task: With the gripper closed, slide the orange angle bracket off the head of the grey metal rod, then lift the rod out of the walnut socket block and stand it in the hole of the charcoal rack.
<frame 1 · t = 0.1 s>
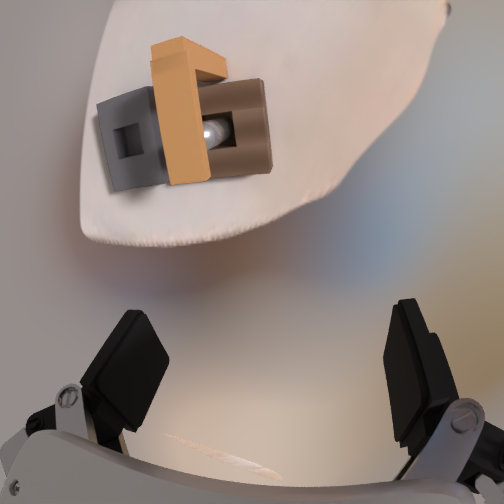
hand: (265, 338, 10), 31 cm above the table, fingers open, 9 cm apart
socket block: (224, 128, 35), on the table
orange angle bracket: (202, 107, 27), point 8 cm above the table, slide at 0.0 cm
grey metal rod: (222, 129, 34), point 1 cm above the table, touching socket block
bit rack: (141, 136, 37), on the table
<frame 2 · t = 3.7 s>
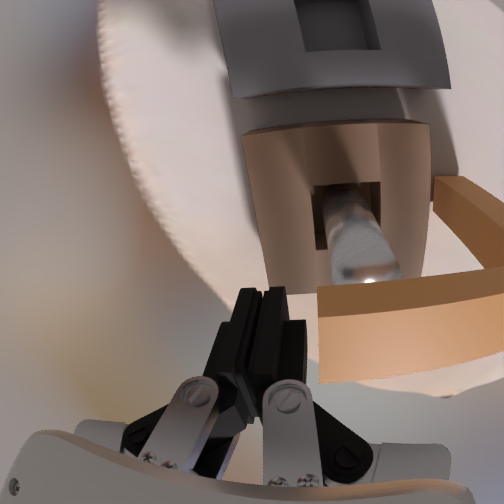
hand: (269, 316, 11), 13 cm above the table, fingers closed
socket block: (339, 197, 21), on the table
orange angle bracket: (429, 238, 13), point 8 cm above the table, slide at 1.2 cm, touching gripper
grey metal rod: (341, 201, 20), point 1 cm above the table, touching socket block
bit rack: (329, 32, 15), on the table
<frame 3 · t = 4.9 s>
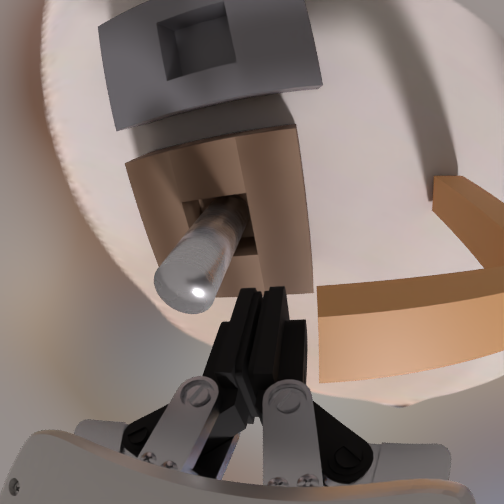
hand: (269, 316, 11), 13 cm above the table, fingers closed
socket block: (232, 207, 23), on the table
orange angle bracket: (428, 237, 13), point 8 cm above the table, slide at 9.8 cm, touching gripper
grey metal rod: (229, 212, 22), point 1 cm above the table, touching socket block
bit rack: (212, 49, 16), on the table
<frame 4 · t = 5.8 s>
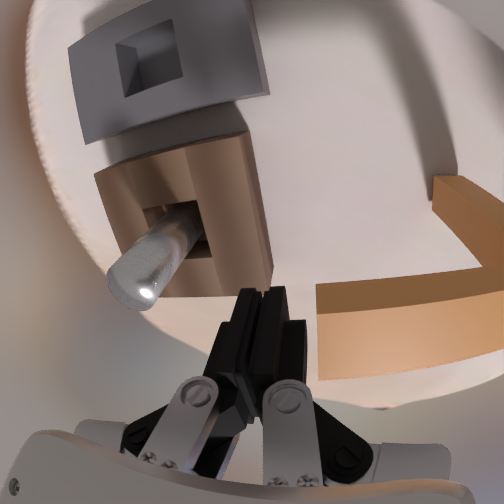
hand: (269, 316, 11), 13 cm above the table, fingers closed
socket block: (194, 212, 24), on the table
orange angle bracket: (428, 236, 13), point 8 cm above the table, slide at 13.3 cm, touching gripper
grey metal rod: (190, 217, 23), point 1 cm above the table, touching socket block
bit rack: (171, 63, 17), on the table
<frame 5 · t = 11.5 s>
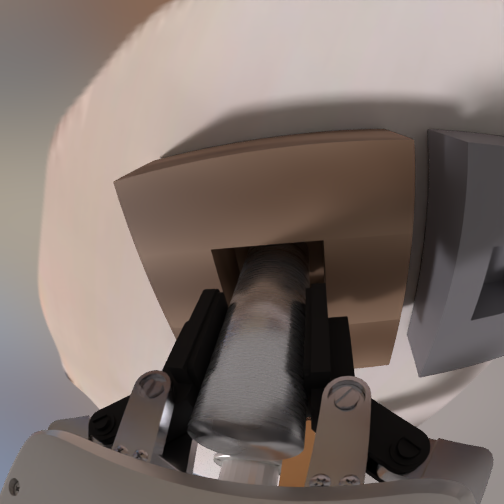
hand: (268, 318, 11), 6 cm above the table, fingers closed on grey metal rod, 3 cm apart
socket block: (280, 246, 16), on the table
orange angle bracket: (293, 474, 17), point 8 cm above the table, slide at 13.5 cm
grey metal rod: (278, 256, 15), point 1 cm above the table, touching gripper, socket block
bit rack: (480, 245, 13), on the table
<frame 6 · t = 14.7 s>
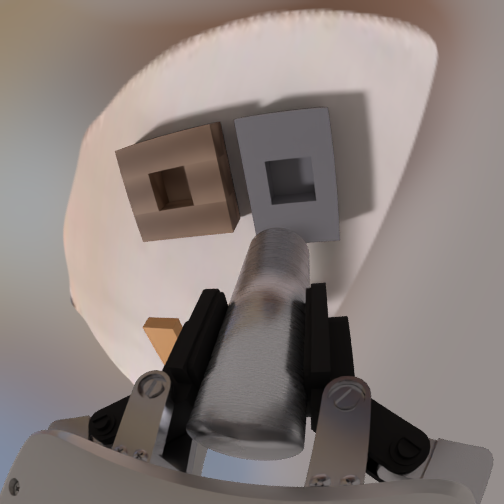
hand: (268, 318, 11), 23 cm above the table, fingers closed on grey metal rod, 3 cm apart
socket block: (183, 179, 33), on the table
orange angle bracket: (199, 326, 34), point 8 cm above the table, slide at 13.5 cm
grey metal rod: (278, 255, 15), point 18 cm above the table, touching gripper
bit rack: (292, 171, 30), on the table
when the fingers open (8 cm above the table, at t = 17.9 s): grey metal rod drops 2 cm, resting on bit rack.
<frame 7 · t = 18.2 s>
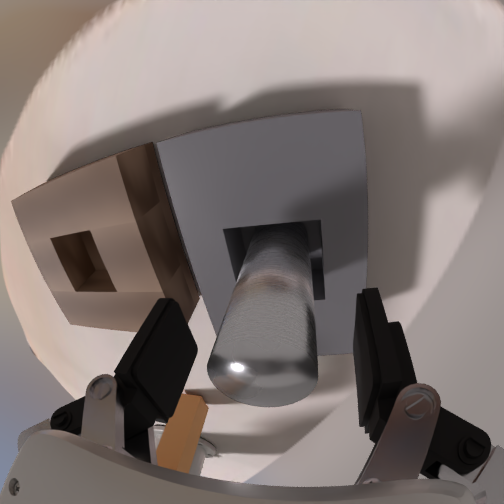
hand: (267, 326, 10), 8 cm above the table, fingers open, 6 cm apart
socket block: (111, 237, 20), on the table
orange angle bracket: (155, 432, 21), point 8 cm above the table, slide at 13.5 cm
grey metal rod: (280, 239, 16), point 1 cm above the table, touching bit rack
bit rack: (282, 231, 17), on the table
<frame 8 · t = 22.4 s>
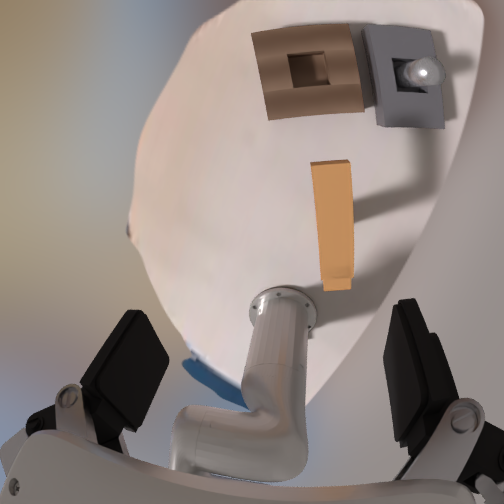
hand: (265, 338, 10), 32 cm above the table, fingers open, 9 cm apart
socket block: (308, 72, 31), on the table
orange angle bracket: (329, 206, 32), point 8 cm above the table, slide at 13.5 cm
grey metal rod: (402, 76, 27), point 1 cm above the table, touching bit rack
bit rack: (400, 77, 28), on the table
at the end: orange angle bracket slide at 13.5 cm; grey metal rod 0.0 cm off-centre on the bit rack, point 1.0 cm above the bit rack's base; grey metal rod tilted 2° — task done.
